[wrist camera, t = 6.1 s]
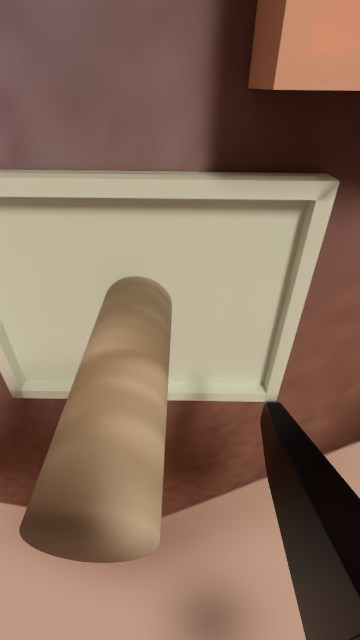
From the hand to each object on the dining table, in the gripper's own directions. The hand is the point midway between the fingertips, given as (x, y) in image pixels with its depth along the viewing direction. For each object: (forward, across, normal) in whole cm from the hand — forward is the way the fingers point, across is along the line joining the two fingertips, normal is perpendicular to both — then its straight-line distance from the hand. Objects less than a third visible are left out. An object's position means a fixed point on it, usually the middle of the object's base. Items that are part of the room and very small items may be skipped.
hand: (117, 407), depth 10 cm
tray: (+6, 0, 0) cm, 6 cm away
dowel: (+6, 0, 0) cm, 6 cm away
